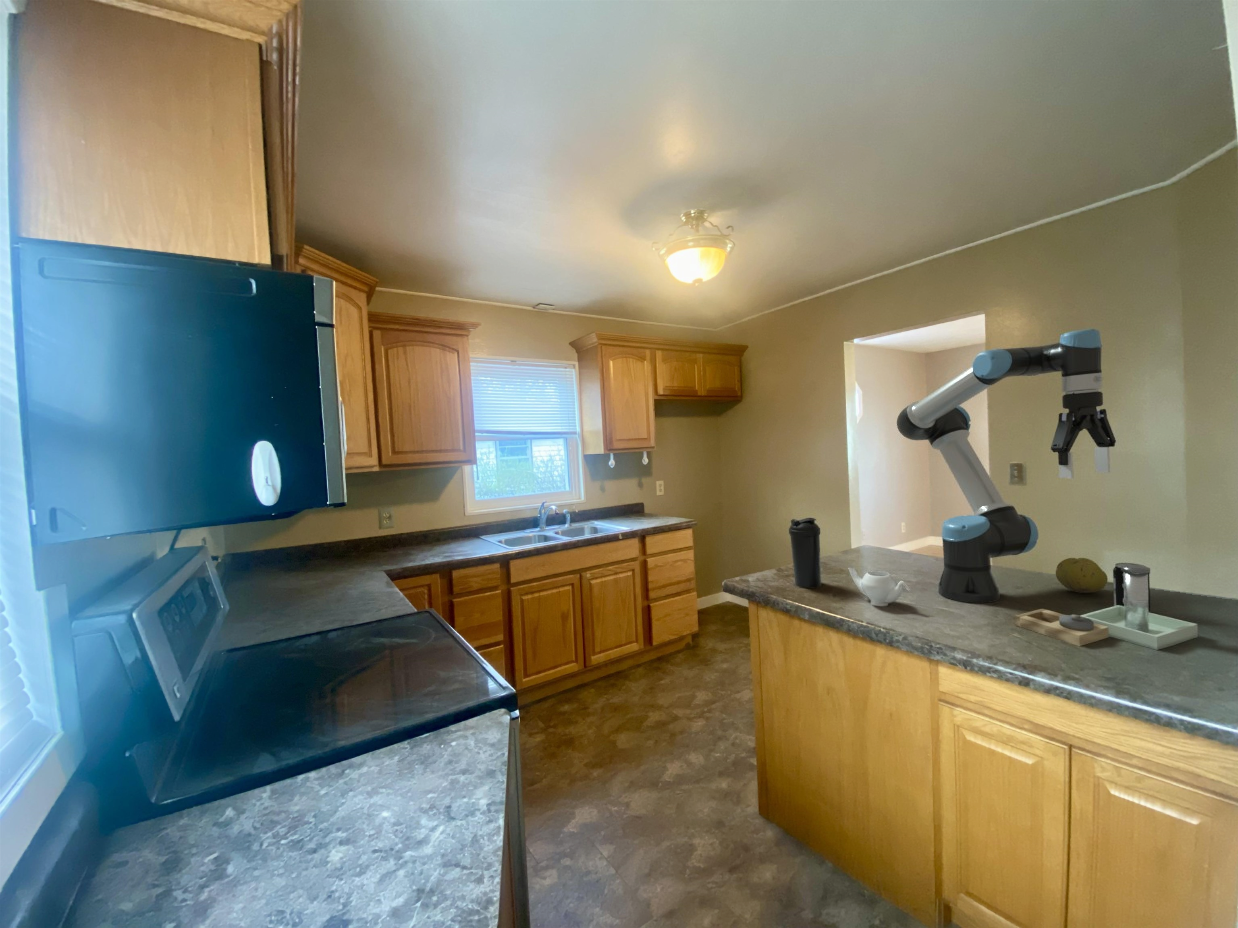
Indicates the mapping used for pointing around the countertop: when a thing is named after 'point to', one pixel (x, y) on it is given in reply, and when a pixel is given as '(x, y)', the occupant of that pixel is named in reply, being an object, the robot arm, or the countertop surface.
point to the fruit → (1081, 575)
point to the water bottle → (806, 552)
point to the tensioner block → (1062, 626)
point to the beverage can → (1119, 584)
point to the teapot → (878, 586)
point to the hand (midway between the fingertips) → (1084, 475)
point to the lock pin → (1136, 597)
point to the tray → (1158, 637)
